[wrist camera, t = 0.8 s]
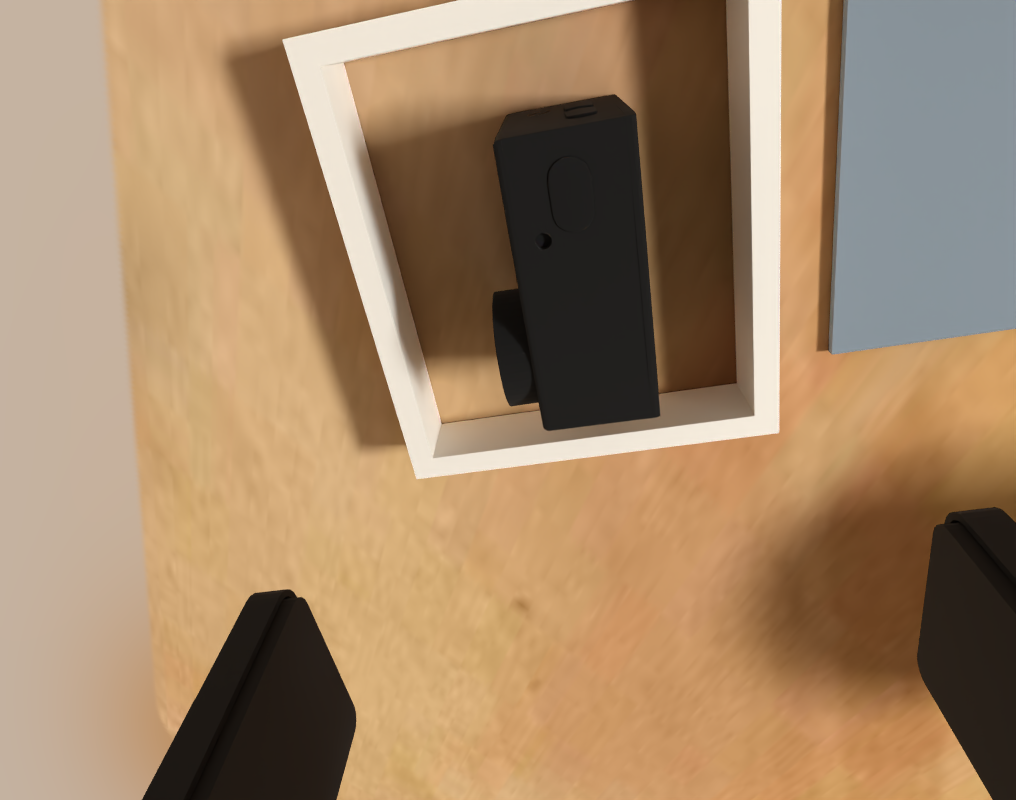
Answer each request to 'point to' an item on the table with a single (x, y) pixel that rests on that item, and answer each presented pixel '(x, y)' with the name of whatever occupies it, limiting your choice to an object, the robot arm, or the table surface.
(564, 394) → the digital camera
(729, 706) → the table surface
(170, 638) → the table surface
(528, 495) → the table surface
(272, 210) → the table surface
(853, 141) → the rubber mat
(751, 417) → the open frame
